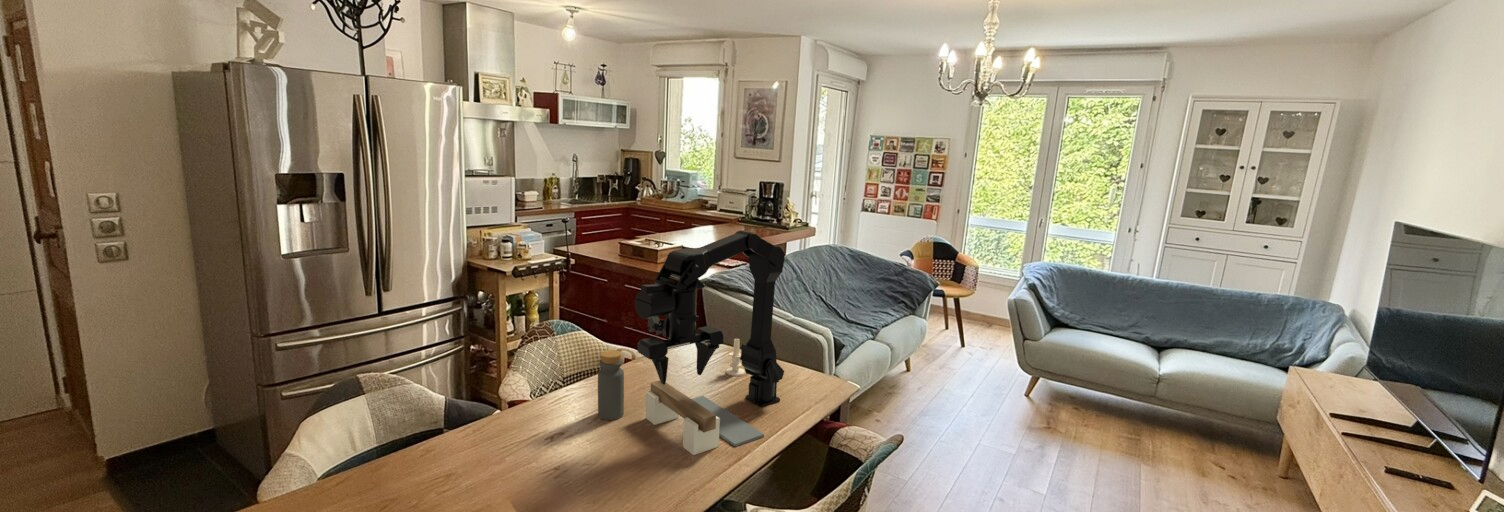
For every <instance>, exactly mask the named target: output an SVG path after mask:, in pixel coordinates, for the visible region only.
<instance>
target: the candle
mask: <svg viewBox="0 0 1504 512" xmlns="http://www.w3.org/2000/svg"><path fill="white" fill-rule="evenodd" d="M728 355H729V356H730V357H732V359H731V362H730V364H729V365H730V367H729V368H727V369H726V371H725V372H726V374H727V375H729V376H732V377H740V376H744V375H745V374H746V372H745V368H741V367H742V362H741V360H740V357H741V352H740V338H734V339H733V349H732V352H730V353H729V354H728Z"/></svg>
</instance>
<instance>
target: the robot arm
mask: <svg viewBox="0 0 1504 512" xmlns="http://www.w3.org/2000/svg"><path fill="white" fill-rule="evenodd" d="M740 254H743V255H744V256H746V257H747V258H748V266H749V267H748V269H749V271H750V273H751V275H752V278H753V279H754V284H753V285H754V286H753V298H752V314H751V326H750V327H751V328H750V338H749V339H748V340H747V342H746V343H745V344H744V343H743V344H741V345H740V351H741V352H740V353H741V357H740V361H741V364H742V366H743V369H744V370H745V374H746V375H750V377H749V378H750V379H749V383H748V394H745V399H747V400H748V401H750V402H751V403H753V404H756V405H757V406H759V407H764V406H768V405H770V404H774V403H777V402H780V401H781V398H780V397H779V396H777V387H778V383H779V382H780V380H781V381H782V380H783V377H784V374H785V370H784V368H782V366H780V364H779V363H778V362H777V350H776V348H775V345H774V342H773V341H772V327H773V314H774V302H775V291H776V290H775V288H776V281H777V280H778V278H779V277H780V275H781V274H782V273H783V269H784V264H785V260H786V259H785V258H786V257H785V251H784V250H783V248H781V247H780V246H777V245H774V244H772V243H770V242H769V241H767V240H765V239H763V238H762V237H760V236H759V235H758V234H756V233H755V232H753V231H748V230H743V229H740V230H737V231H736V232H735V233H733V234H731V235H728V236H725V237H723V238H720V239H718V240H715V241H713V242H709V243H707V244H706V245H703V246H701V247H691V248H681V249H674V250H672V251H670V252H669V253H668V254H667V256H666V259H665V260H664V261H665V262H664V263H663V265H662V267H661V269H660V270H659V272H658V274H657V276H656V277H655V278H654V280H653V281H654V283H652V284H641V286H640V291H639V292H637V294H636V296H635V299H634V308H635V311H636V313H637V315H638V317H639V318H640V319H642V320H647V329H648V331H649V333H654V332H655V336H652V337H646V338H641V339H640V340H639V342H638V343H637V353H639V354H641V356H643V357H645V358H646V359H648V360H651V361H652V363H653V365H654V367H655V371H656V372H657V376H658V378H659V380H660V381H661V383H662V384H663V385H664V384H665V383H667V377H668V366H669V357H668V356H667V354H668V351H669V350H670V349H674V348H679V347H683V346H688V345H692V344H693V345H694V344H695V348H696V373H697V375H699V376H701V375H703V373H704V370H705V368H706V367H707V365H708V362H709V361H710V359H711V358H712V356H713V355H714V353H715V352H716V350H717V349H719V348H720V345H723V344H724V343H725V335H724V333H723V330H720V329H718V328H717V327H714V326H711V325H707V326H701V327H698V328H697V329H696V327H697V323H696V322H700V316H699V315H697V290H699V289H704V288H705V287H706V284H704V282H702V281H701V280H700V278H701V277H702V276H704V275H705V274H706V273H707V272H708V270H709V269H710V268H711V267H712V266H714V265H717V264H719V263H721V262H724V261H726V260H728V259H730V258H733V257H735V256H737V255H740ZM671 277H672V278H671ZM674 278H675V279H674ZM677 279H679V280H677ZM662 316H664V319H660V317H662ZM661 334H662V336H663V337H664V338H668V339H665V340H661V339H660V338H658V337H657V336H660V335H661ZM742 366H741V367H742Z"/></svg>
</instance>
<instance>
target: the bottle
mask: <svg viewBox="0 0 1504 512" xmlns="http://www.w3.org/2000/svg"><path fill="white" fill-rule="evenodd" d="M621 357H622V352H621V351H620V350H616V349H615V350H614V349H609V350H605V351H602V352H600V360H599V367H600V369H599V370H598V372H597V416H598V417H599V418H600V419H602V420H604V421H615V420H618V419H621V418H622V417H624V413H625V371H624V369H623V368H621V367H622V366H623V359H622V358H621Z"/></svg>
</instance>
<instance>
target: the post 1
mask: <svg viewBox="0 0 1504 512" xmlns="http://www.w3.org/2000/svg"><path fill="white" fill-rule="evenodd" d="M679 418H680V415H678V414H677V413H675V412H674V411H673V410H671V409H670V408H668V407H667V406H666V405H664V404H663V403H661V402H660V401H659V397H658V396H657V395H655V394H654V393H652V392H651V390H648V391H645V419H647V420H648V422H650V423H652V425H654V426H656V425H659V424H663V423H666V422H670V421H672V420H676V419H679Z"/></svg>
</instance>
